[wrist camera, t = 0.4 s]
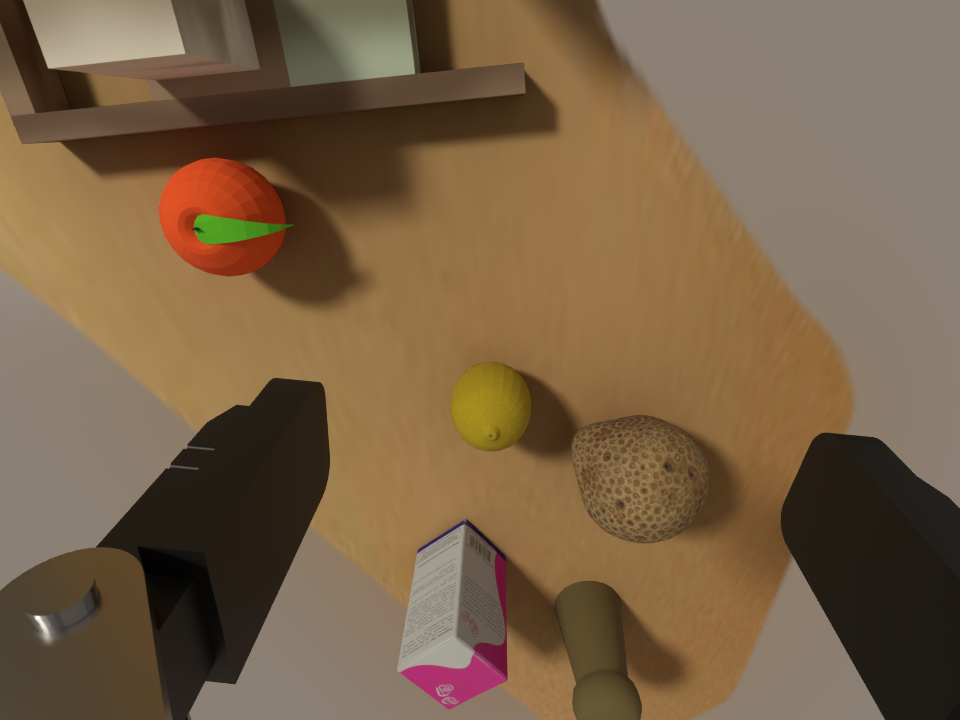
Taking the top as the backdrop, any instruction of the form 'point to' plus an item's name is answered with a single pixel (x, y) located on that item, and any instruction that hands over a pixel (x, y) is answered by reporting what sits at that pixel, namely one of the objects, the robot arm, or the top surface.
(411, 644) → the supplement box
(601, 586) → the olive tapered cylinder
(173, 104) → the walnut lane
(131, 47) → the cream block
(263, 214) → the clementine
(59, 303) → the top surface
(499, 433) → the lemon
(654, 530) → the natural sponge
